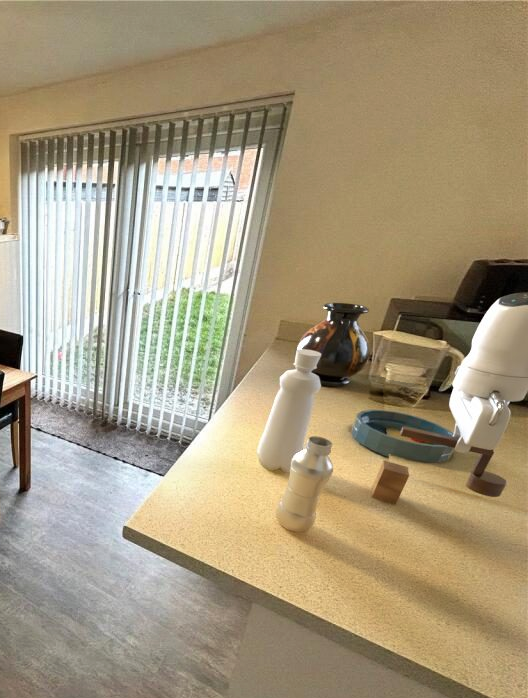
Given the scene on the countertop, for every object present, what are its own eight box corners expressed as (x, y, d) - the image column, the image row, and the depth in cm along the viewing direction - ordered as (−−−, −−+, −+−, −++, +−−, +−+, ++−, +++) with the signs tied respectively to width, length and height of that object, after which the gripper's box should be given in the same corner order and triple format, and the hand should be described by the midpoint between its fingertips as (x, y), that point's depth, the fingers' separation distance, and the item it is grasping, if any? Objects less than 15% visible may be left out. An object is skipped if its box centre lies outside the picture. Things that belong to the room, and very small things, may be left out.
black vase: (363, 395, 134) (393, 315, 123) (289, 383, 145) (310, 308, 134) (354, 375, 151) (380, 303, 140) (288, 365, 162) (307, 298, 151)
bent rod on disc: (497, 488, 77) (519, 447, 73) (502, 500, 74) (526, 459, 70) (387, 459, 87) (402, 423, 83) (388, 469, 83) (403, 431, 80)
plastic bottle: (319, 532, 78) (352, 447, 70) (293, 540, 76) (323, 453, 68) (290, 511, 83) (317, 429, 75) (265, 517, 82) (290, 435, 74)
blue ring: (442, 442, 107) (451, 423, 105) (453, 476, 93) (464, 455, 91) (351, 421, 118) (357, 403, 116) (348, 449, 105) (356, 429, 102)
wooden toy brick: (394, 495, 88) (407, 466, 84) (395, 504, 85) (409, 475, 82) (371, 488, 90) (383, 460, 87) (371, 497, 87) (384, 468, 84)
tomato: (423, 441, 106) (428, 431, 105) (424, 446, 104) (429, 436, 103) (407, 437, 108) (412, 427, 107) (408, 442, 106) (413, 432, 105)
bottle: (257, 471, 96) (289, 356, 84) (252, 451, 104) (280, 344, 92) (300, 479, 93) (340, 361, 81) (291, 458, 101) (326, 348, 89)
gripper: (534, 408, 62) (495, 479, 68) (502, 370, 77) (472, 431, 82) (476, 398, 66) (443, 466, 72) (456, 364, 81) (430, 422, 86)
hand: (458, 447), depth 77 cm, fingers closed on bent rod on disc
